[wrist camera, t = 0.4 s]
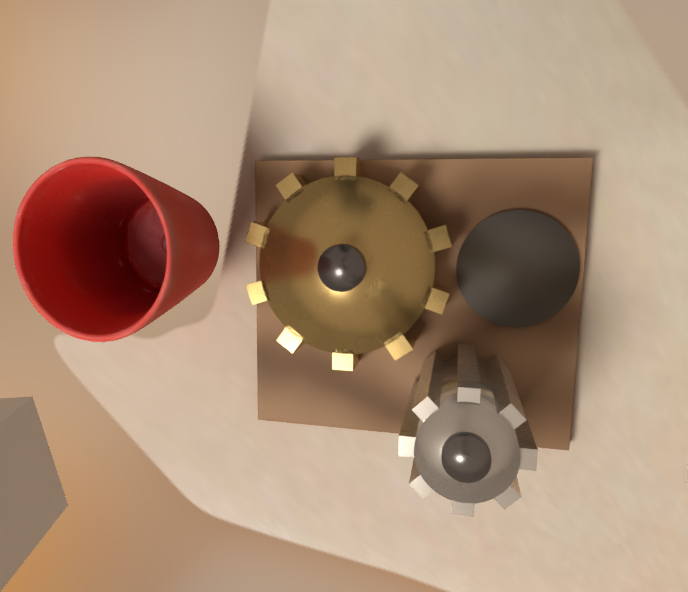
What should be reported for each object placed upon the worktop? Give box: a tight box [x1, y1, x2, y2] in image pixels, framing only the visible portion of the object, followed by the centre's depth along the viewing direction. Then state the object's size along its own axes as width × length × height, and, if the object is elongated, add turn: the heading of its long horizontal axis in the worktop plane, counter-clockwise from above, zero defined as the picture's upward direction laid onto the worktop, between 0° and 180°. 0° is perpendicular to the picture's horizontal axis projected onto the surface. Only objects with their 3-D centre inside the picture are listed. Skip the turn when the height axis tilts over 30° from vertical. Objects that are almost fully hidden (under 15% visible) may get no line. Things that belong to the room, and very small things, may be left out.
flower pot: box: [13, 157, 219, 342], centre depth 35 cm, size 11×11×10 cm
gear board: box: [255, 158, 593, 450], centre depth 36 cm, size 19×22×1 cm
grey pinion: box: [398, 343, 538, 517], centre depth 31 cm, size 7×7×11 cm
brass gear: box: [245, 157, 452, 371], centre depth 35 cm, size 14×14×4 cm
